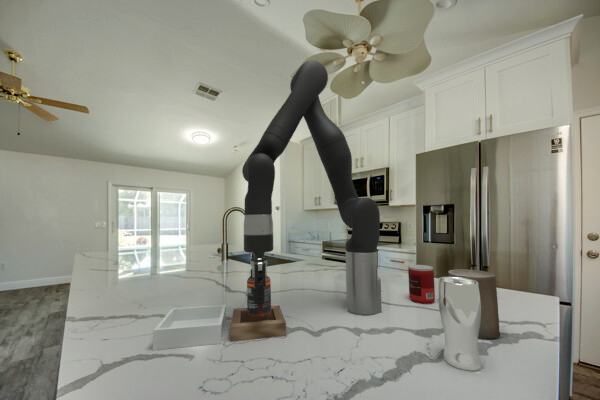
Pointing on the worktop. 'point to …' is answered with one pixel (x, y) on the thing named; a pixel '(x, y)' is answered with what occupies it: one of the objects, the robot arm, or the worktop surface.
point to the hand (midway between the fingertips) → (259, 299)
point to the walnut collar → (257, 325)
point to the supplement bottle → (253, 308)
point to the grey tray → (190, 327)
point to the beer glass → (460, 321)
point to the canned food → (421, 284)
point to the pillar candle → (484, 300)
